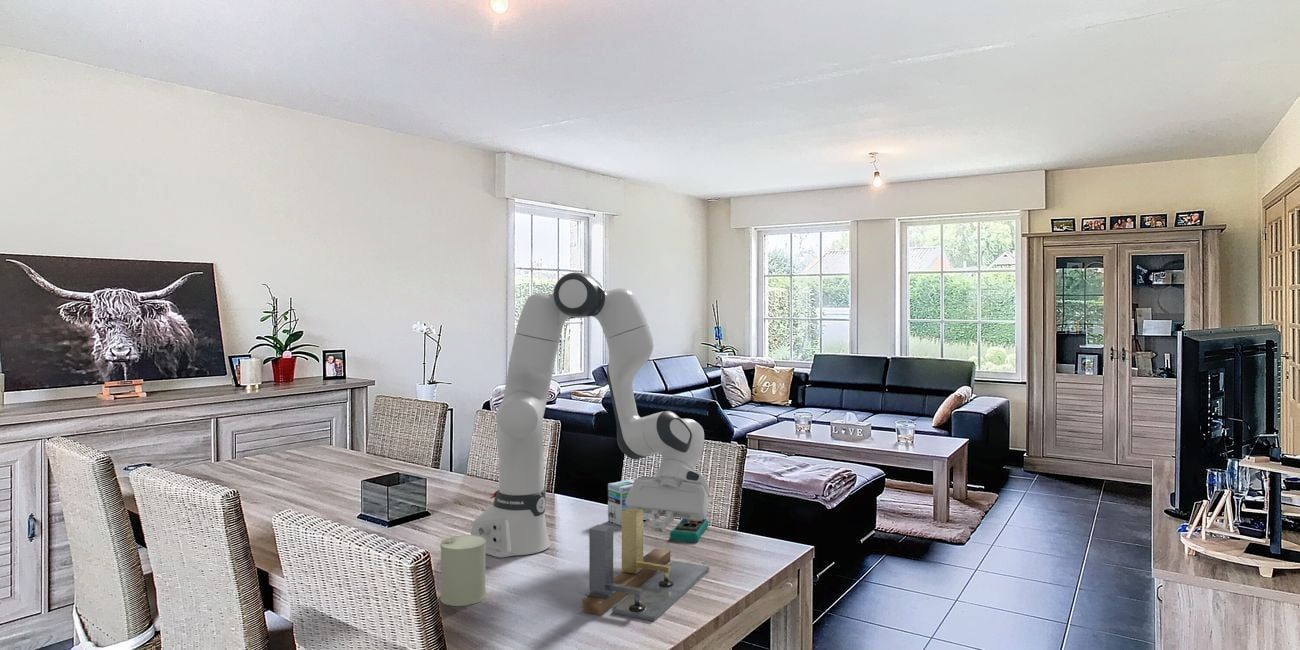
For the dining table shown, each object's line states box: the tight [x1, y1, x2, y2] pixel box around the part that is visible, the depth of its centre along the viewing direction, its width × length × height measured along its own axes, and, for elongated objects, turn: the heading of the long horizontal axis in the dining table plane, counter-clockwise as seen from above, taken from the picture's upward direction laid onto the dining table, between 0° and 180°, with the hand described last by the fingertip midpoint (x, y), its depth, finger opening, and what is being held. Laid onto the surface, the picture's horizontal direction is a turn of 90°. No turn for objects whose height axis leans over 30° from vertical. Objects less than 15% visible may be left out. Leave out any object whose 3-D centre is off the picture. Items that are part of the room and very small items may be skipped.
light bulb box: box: [607, 477, 651, 527], centre depth 207 cm, size 11×7×11 cm, turn 131°
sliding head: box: [621, 508, 671, 582], centre depth 158 cm, size 10×4×14 cm, turn 65°
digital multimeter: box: [669, 518, 709, 543], centre depth 195 cm, size 7×15×3 cm, turn 164°
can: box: [439, 534, 487, 607], centre depth 151 cm, size 9×9×12 cm
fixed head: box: [585, 523, 642, 606], centre depth 145 cm, size 11×4×14 cm, turn 65°
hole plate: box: [611, 560, 710, 622], centre depth 155 cm, size 9×30×1 cm, turn 155°
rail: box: [582, 548, 671, 616], centre depth 158 cm, size 4×34×2 cm, turn 155°
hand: (657, 530), depth 171 cm, fingers closed
